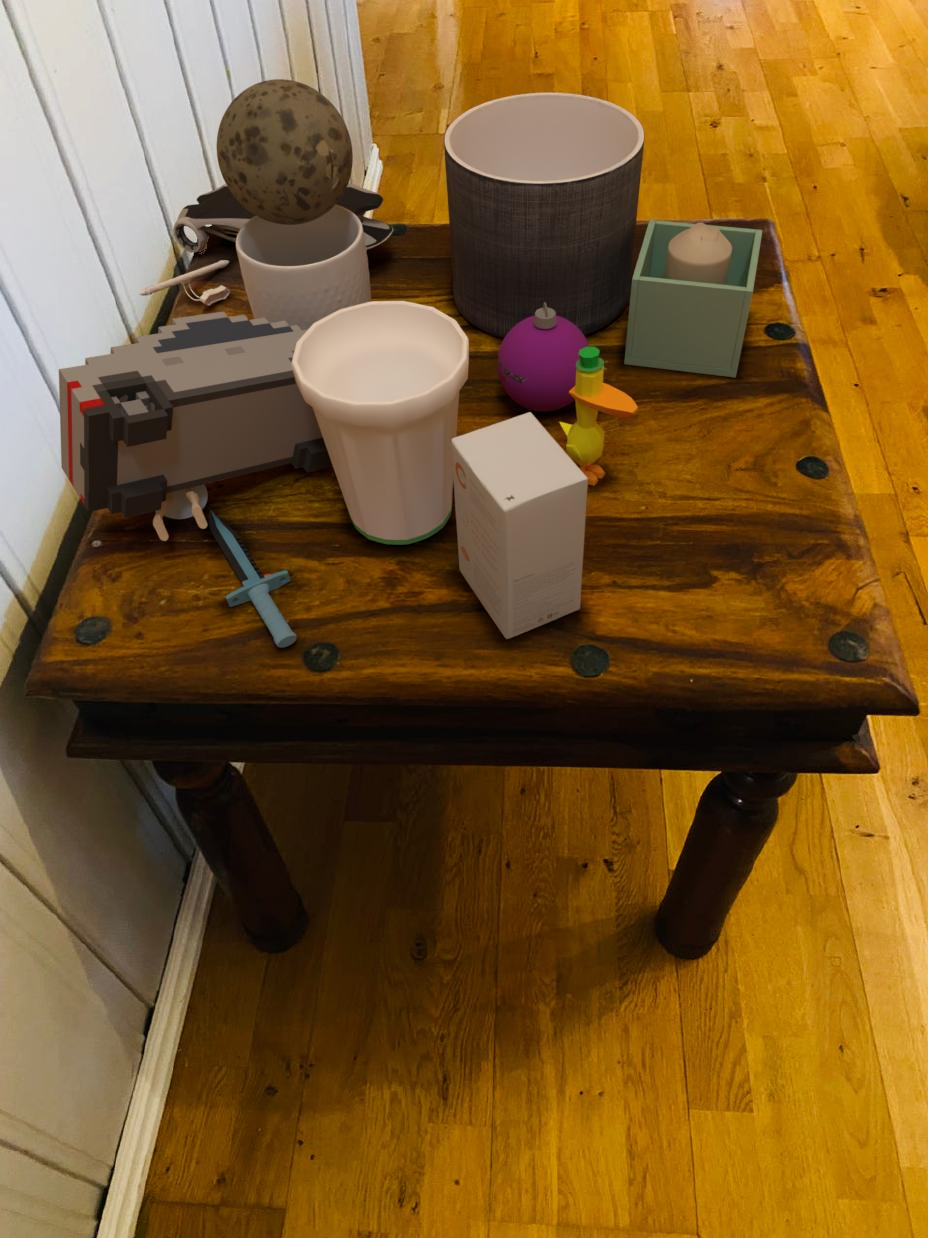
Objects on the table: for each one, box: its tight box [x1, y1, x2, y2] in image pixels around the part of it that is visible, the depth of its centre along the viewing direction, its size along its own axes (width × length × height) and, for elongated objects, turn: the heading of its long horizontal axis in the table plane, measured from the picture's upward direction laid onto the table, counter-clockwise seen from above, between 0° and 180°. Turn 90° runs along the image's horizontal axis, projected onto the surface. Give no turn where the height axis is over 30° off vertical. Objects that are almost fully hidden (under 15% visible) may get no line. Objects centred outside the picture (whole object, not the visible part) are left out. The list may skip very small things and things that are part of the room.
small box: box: [451, 411, 589, 640], centre depth 70 cm, size 8×6×13 cm
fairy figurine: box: [152, 484, 209, 542], centre depth 80 cm, size 12×5×12 cm
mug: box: [235, 205, 372, 330], centre depth 90 cm, size 15×11×13 cm
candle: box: [664, 222, 732, 285], centre depth 89 cm, size 6×6×10 cm
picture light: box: [138, 259, 231, 306], centre depth 101 cm, size 14×4×2 cm, turn 154°
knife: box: [208, 509, 298, 649], centre depth 76 cm, size 17×1×5 cm
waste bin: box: [623, 219, 763, 379], centre depth 90 cm, size 10×10×9 cm
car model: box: [172, 183, 394, 254], centre depth 106 cm, size 11×24×5 cm, turn 66°
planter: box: [443, 92, 646, 339], centre depth 94 cm, size 18×18×16 cm
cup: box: [291, 300, 470, 546], centre depth 75 cm, size 12×12×15 cm
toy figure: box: [558, 346, 639, 487], centre depth 77 cm, size 7×4×12 cm, turn 53°
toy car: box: [58, 311, 333, 519], centre depth 77 cm, size 9×24×10 cm
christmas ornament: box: [496, 302, 590, 413], centre depth 85 cm, size 8×8×10 cm
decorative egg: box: [216, 78, 354, 225], centre depth 82 cm, size 11×11×15 cm
